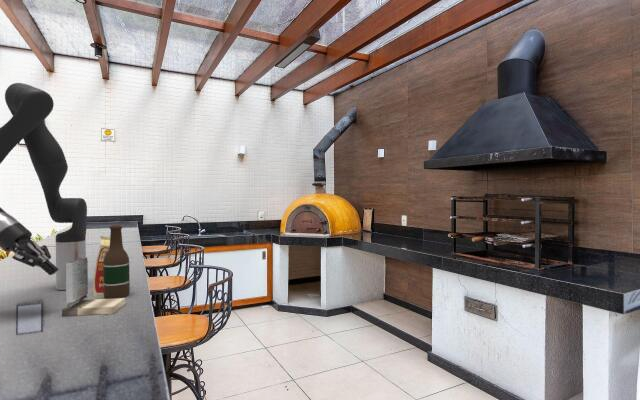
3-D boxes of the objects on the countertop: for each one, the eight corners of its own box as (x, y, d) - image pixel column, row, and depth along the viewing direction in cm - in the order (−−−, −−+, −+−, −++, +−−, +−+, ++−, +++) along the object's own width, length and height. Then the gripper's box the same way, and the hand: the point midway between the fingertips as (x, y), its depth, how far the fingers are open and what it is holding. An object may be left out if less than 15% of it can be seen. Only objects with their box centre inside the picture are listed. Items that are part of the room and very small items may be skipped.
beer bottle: (134, 294, 124) (134, 224, 124) (113, 300, 117) (112, 226, 117) (119, 292, 128) (118, 224, 128) (98, 297, 121) (97, 225, 120)
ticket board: (61, 316, 102) (61, 309, 102) (77, 306, 111) (77, 300, 111) (113, 313, 104) (113, 306, 104) (125, 304, 113) (125, 297, 113)
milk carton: (93, 296, 123) (92, 237, 123) (95, 290, 131) (94, 234, 131) (123, 292, 127) (123, 235, 127) (124, 286, 135) (123, 233, 135)
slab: (66, 307, 102) (65, 262, 102) (82, 298, 111) (81, 257, 111) (72, 307, 102) (72, 262, 102) (87, 298, 111) (87, 257, 111)
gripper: (12, 238, 109) (57, 277, 111) (-22, 243, 96) (30, 287, 98) (31, 220, 110) (76, 259, 112) (0, 223, 97) (51, 267, 99)
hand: (54, 272), depth 105 cm, fingers closed
